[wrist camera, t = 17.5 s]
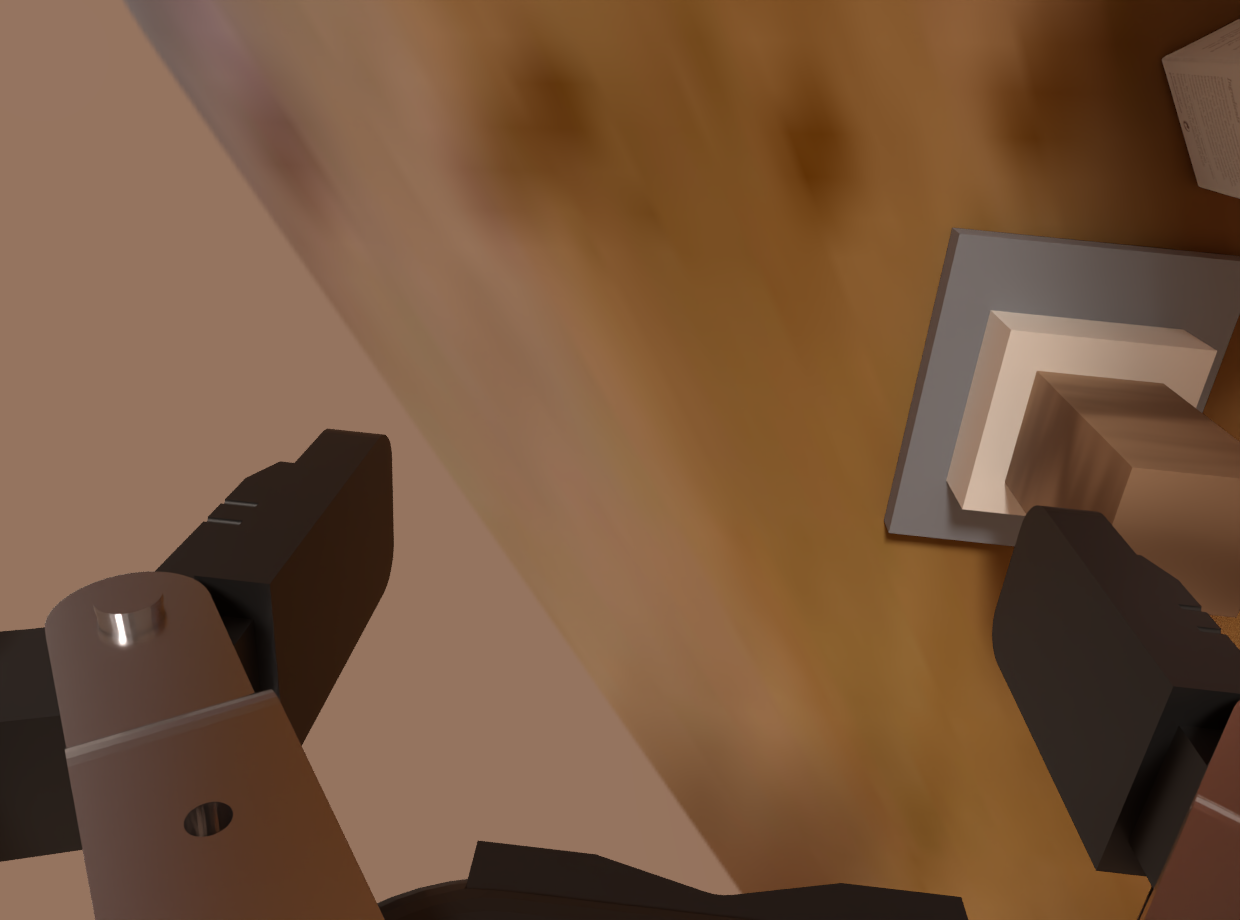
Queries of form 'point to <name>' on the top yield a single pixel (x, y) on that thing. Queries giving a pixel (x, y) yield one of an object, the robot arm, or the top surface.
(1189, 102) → the small box
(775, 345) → the top surface
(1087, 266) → the plate
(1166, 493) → the walnut block
